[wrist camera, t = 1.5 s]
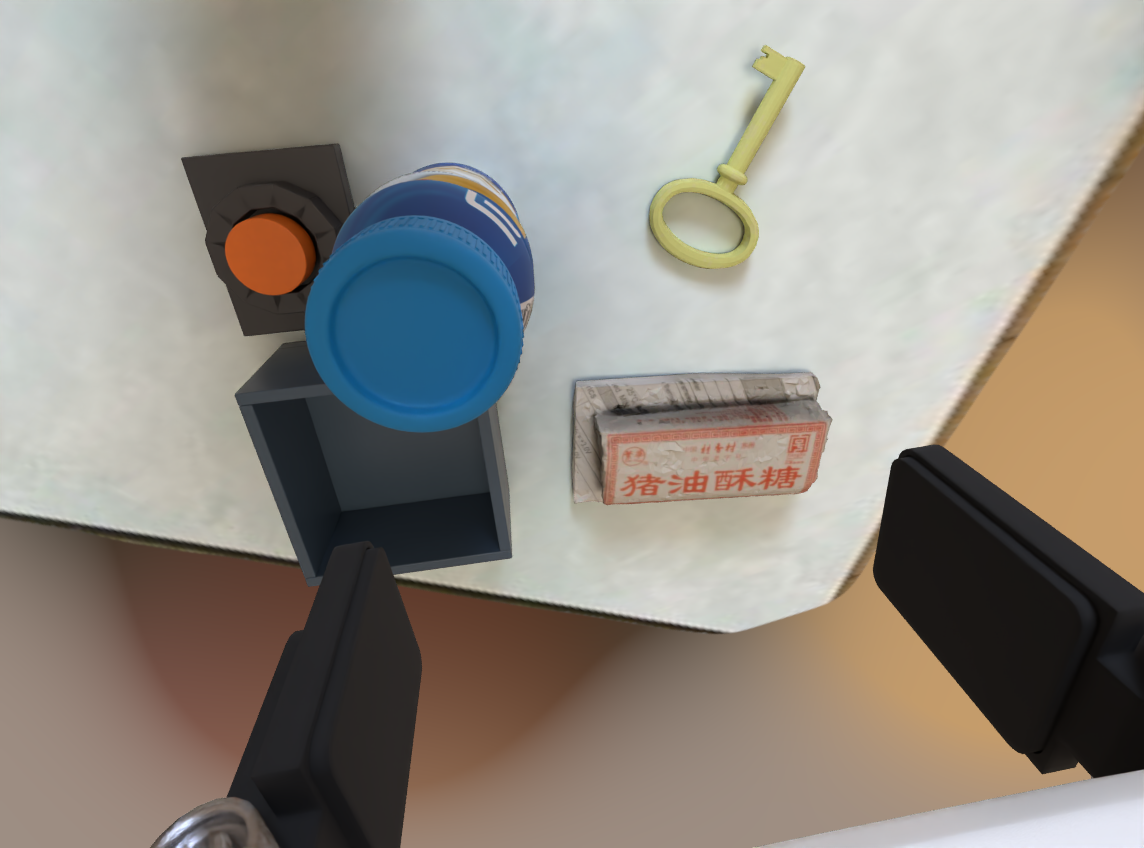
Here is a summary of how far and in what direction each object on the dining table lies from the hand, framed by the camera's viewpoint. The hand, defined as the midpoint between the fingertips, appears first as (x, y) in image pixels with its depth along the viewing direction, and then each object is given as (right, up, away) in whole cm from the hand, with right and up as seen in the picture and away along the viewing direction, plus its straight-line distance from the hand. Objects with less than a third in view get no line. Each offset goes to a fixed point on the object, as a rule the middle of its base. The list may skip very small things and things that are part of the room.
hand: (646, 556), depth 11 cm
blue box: (-13, +3, +30) cm, 33 cm away
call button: (-18, +12, +22) cm, 30 cm away
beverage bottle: (-9, +14, +25) cm, 30 cm away
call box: (-18, +13, +24) cm, 33 cm away
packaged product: (+8, +2, +34) cm, 34 cm away
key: (+8, +18, +25) cm, 32 cm away
